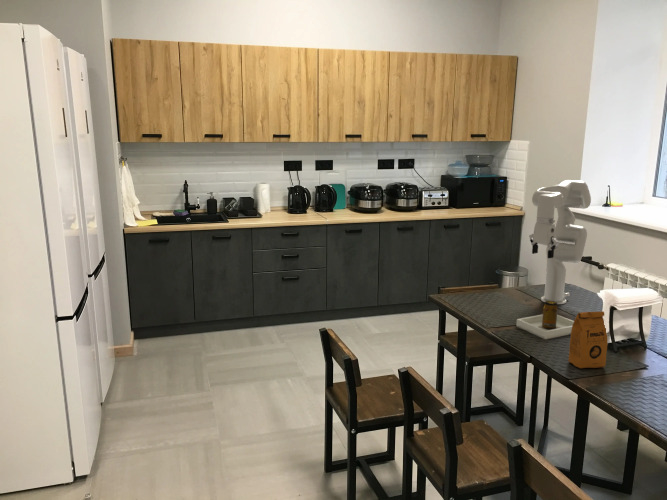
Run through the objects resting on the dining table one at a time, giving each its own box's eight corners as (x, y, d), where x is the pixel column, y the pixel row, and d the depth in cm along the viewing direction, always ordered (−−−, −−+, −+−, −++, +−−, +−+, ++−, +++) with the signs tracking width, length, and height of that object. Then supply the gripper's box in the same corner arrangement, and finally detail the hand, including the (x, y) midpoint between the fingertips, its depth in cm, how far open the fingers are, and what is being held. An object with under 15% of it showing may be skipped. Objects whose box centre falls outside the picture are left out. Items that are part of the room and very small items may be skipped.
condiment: (546, 323, 265) (548, 299, 263) (563, 328, 259) (565, 303, 256) (537, 327, 261) (539, 302, 258) (554, 332, 255) (557, 306, 252)
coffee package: (608, 370, 217) (615, 315, 213) (577, 371, 216) (583, 316, 212) (595, 359, 227) (600, 307, 222) (565, 360, 226) (570, 307, 221)
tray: (551, 319, 273) (552, 312, 272) (582, 331, 257) (582, 324, 257) (516, 326, 264) (516, 319, 263) (545, 339, 248) (546, 331, 247)
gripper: (565, 222, 262) (562, 258, 266) (536, 216, 277) (534, 250, 281) (553, 224, 259) (550, 260, 263) (525, 218, 274) (523, 252, 278)
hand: (542, 255), depth 272 cm, fingers open, 9 cm apart
